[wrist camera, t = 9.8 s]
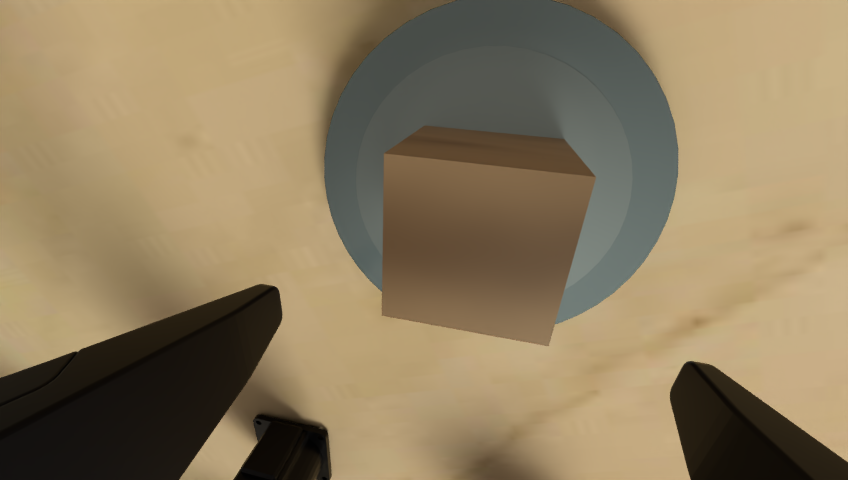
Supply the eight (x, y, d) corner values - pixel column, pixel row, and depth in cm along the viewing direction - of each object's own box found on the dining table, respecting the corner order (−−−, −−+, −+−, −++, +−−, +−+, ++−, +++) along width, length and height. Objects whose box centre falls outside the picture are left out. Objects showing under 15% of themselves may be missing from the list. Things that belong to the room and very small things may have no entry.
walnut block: (535, 262, 18) (548, 346, 12) (417, 245, 19) (381, 315, 13) (564, 139, 15) (596, 177, 10) (424, 125, 16) (383, 153, 11)
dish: (605, 339, 20) (613, 358, 19) (342, 292, 23) (332, 307, 22) (727, 9, 13) (754, 2, 12) (328, -7, 16) (311, -14, 14)
